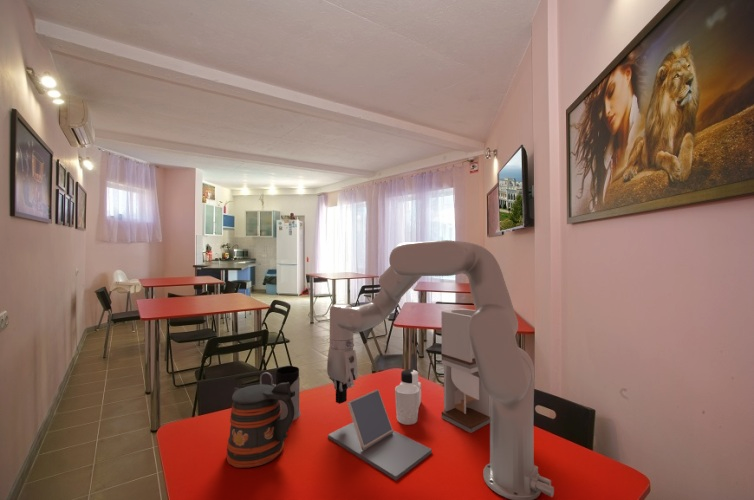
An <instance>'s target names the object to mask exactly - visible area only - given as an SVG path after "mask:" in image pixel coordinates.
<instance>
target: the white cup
mask: <svg viewBox="0 0 754 500" xmlns="http://www.w3.org/2000/svg"><path fill="white" fill-rule="evenodd" d="M394 393H395V394H394V395H395V411H396V421H397V422H398V423H400V424H402V425H408V426H410V425H415V424H416V423H417V422H418V418H419V408H420V405H419V388H418V387H417V386H415V385H411V384H401V385H400V384H398V385H396V386H395V388H394ZM418 407H419V408H418Z"/></svg>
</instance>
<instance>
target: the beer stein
mask: <svg viewBox="0 0 754 500" xmlns="http://www.w3.org/2000/svg"><path fill="white" fill-rule="evenodd" d="M293 396H295V391H291V390H290V383H289V382H287V383H280V384H278V385H277V386H276V387H275V386H273V385H272V384H271V385H270V384H264V383H262V384H260V383H259V384H255V385H254V384H252V385H247V386H245V387H242V388H239V387H234V388H233V394H232V396H231V400H232V401H233V402H232V404H231V411H230V416H229V417H230V419H229V423H230V428H229V430H230V431H229V437H228V439H227V444H226V447H227V448H226V460H227V462H228V464H229V465H231V466H232V467H234V468H237V469H242V468H243V469H244V468H246V469H247V468H255V467H260V466H264V465H266V464H268V463H270V462H272V461H273V460H274V459H276V458H278V457H279V456H280V454H281V452H283V450H284V446H285V440H286V439H287V437H288V433H287V432H288V430H289V429H290V428H291V426H292V424H293V422H294V420H293V419H294V405H293V402H292V400H291V397H293ZM280 400H282V401H283V402H285V404H286V405H287V408H288V414H287V417H286V418H284V419H281V418H280V415H281V406H280Z"/></svg>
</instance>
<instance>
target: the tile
mask: <svg viewBox="0 0 754 500" xmlns="http://www.w3.org/2000/svg"><path fill="white" fill-rule="evenodd" d="M346 405H347V407H348V411H349V413H350V416H351V417H350V418H351V420H352V422H353V423H354V426H355V430H356V433H357V436H358V439H359V442H360V445H361V449H362V450H365V449H366V448H368V447H370V446H371V445H373V444H375V443H376V442H378V441H380V440H381V439H383V438H385V437H386V436H388V435H390V434H391V433H393V430H394V429H393V426H392V424H391V421H390V418H389V416H388V413H387V410H386V407H385V404H384V401H383V399H382V395H381V393H380V390H379V389H378V388H377V389H375V390H372V391H370V392H367V393H366V394H364V395H360V396H359V397H357V398H354V399H352V400H350V401H346Z"/></svg>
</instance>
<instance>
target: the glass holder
mask: <svg viewBox="0 0 754 500" xmlns="http://www.w3.org/2000/svg"><path fill="white" fill-rule="evenodd" d="M265 374H267V375H268V376H269V377H270V380H271V381H270V383H271V386H274V387H276V386H277V385H278V384H280V383H287V382H289V383H290V390H291V391H295V396H293V397H291V400H292V402H293V405H294V419H293V421H295V420H297V419H298V418H300V416H301V413H302V412H301V411H300V387H301V386H300V368H299V367H297V366H294V365H293V366H292V365H290V366H282V367H279V368H277V369H276V370H275V384H274V378H273V375H272V374H271V373H270V372H267V371H266V372H263V373H262V374H260V376H259V385H260V384H263V383H262V377H263V376H264V375H265ZM280 406H281V415H280V418H281V419H284V418H286V417H287V414H288V408H287V405H286V404H285V402H283V401H282V400H280Z"/></svg>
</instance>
